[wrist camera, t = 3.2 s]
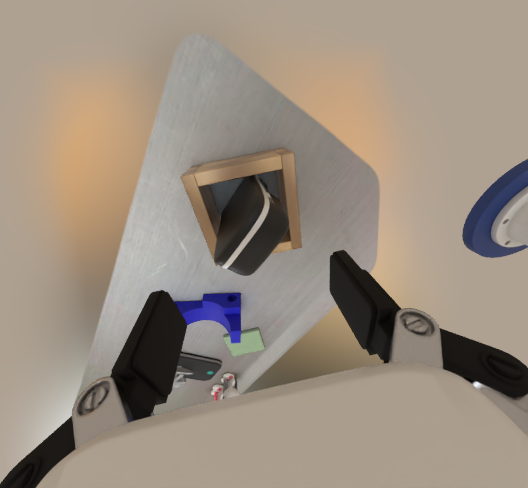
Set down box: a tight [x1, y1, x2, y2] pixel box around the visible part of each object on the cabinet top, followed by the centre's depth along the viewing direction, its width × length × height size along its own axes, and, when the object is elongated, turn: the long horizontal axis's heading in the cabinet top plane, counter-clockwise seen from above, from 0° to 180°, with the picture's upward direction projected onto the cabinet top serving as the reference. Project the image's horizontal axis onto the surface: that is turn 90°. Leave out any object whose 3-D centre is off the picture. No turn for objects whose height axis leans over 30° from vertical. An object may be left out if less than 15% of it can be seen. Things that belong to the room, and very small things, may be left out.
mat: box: [224, 328, 265, 356], centre depth 39 cm, size 7×7×1 cm
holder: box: [181, 147, 302, 266], centre depth 22 cm, size 10×10×5 cm
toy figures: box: [211, 373, 239, 401], centre depth 44 cm, size 12×4×8 cm, turn 150°
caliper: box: [172, 366, 193, 388], centre depth 45 cm, size 29×2×5 cm
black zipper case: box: [214, 174, 289, 276], centre depth 19 cm, size 7×4×11 cm, turn 144°
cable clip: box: [174, 293, 241, 343], centre depth 30 cm, size 12×4×6 cm, turn 86°
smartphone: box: [177, 353, 221, 381], centre depth 41 cm, size 8×1×15 cm
